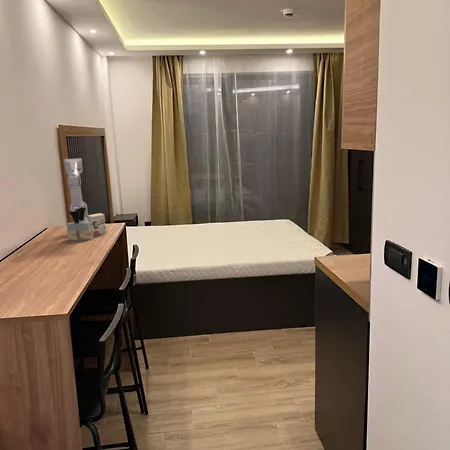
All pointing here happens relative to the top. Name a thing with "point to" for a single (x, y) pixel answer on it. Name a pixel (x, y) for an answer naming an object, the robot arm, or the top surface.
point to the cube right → (87, 234)
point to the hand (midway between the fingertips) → (79, 222)
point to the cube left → (73, 235)
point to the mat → (81, 239)
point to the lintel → (79, 226)
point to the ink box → (97, 223)
